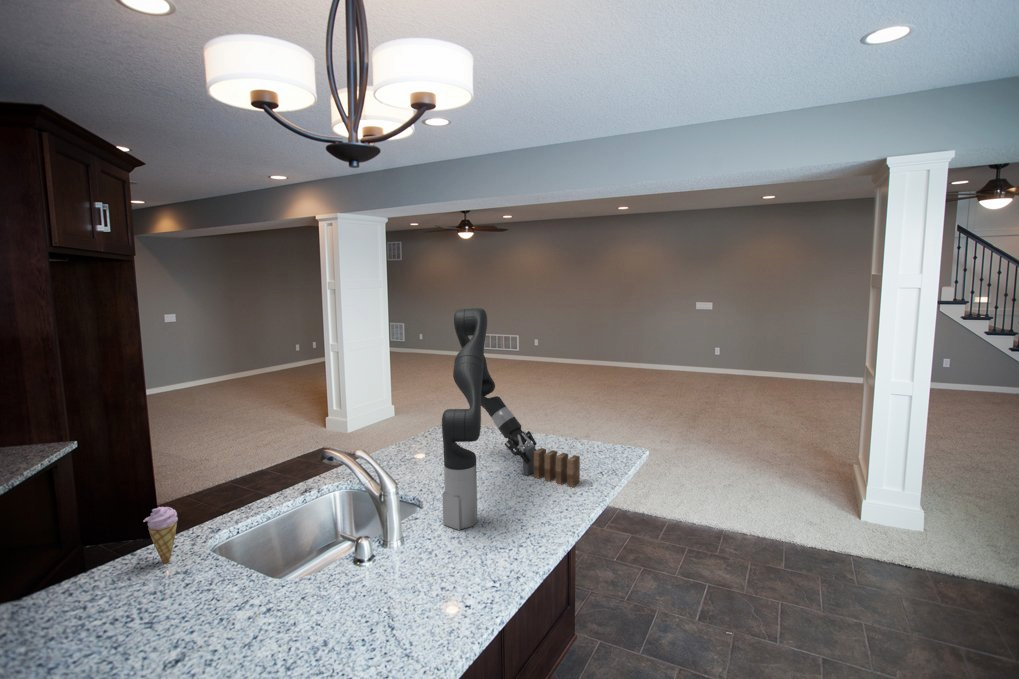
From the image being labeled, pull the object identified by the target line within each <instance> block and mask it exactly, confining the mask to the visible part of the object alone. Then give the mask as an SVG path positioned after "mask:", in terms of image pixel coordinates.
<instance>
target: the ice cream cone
mask: <svg viewBox="0 0 1019 679" xmlns="http://www.w3.org/2000/svg"><path fill="white" fill-rule="evenodd" d="M178 520H179V519H178V513H177V511H176V510H175V509H173V508H172V507H169V506H158V507H157V508H153V509H151V513H150V516H148V517H146V518H144V520H143V523H145V522H147V526H148V527H147V529H148V531H149V536H150V538H151V540H152V543H153V544H154V547H155V550H156V552H157V554H158V556H159V557H160V560H161V562H162V564H169V563H170V561H171V558H172V553H173V548H174V544H175V538H176V532H177V527H178Z"/></svg>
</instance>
